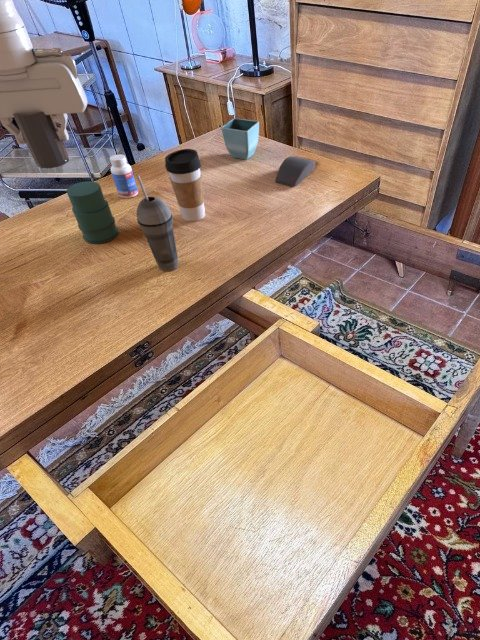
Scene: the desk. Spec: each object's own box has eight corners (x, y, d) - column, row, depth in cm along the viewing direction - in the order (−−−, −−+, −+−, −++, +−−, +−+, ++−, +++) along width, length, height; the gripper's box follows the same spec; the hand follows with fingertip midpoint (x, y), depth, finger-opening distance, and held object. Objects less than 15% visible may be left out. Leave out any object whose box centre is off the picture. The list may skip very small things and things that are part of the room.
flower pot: (262, 152, 140) (259, 120, 133) (250, 163, 135) (247, 131, 128) (237, 149, 143) (233, 117, 136) (224, 159, 137) (220, 127, 130)
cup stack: (81, 245, 107) (60, 199, 98) (86, 227, 112) (67, 181, 103) (117, 242, 108) (100, 195, 99) (120, 224, 113) (104, 178, 104)
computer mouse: (318, 169, 132) (319, 154, 129) (296, 188, 124) (296, 173, 121) (295, 164, 134) (294, 150, 131) (272, 182, 127) (271, 167, 124)
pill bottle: (134, 199, 122) (122, 162, 114) (115, 198, 122) (103, 161, 115) (141, 190, 125) (130, 153, 118) (123, 189, 126) (111, 152, 118)
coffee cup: (215, 217, 114) (205, 156, 103) (185, 227, 112) (171, 165, 100) (201, 204, 119) (189, 144, 107) (172, 214, 116) (157, 153, 104)
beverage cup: (174, 277, 98) (148, 186, 82) (146, 271, 100) (116, 181, 84) (190, 260, 102) (169, 170, 87) (163, 254, 104) (137, 165, 88)
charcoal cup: (33, 169, 84) (8, 116, 78) (40, 156, 88) (17, 104, 81) (66, 167, 85) (44, 114, 78) (71, 154, 89) (51, 102, 82)
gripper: (72, 42, 76) (102, 130, 87) (-52, 49, 74) (-7, 139, 85) (66, 51, 72) (97, 143, 83) (-66, 60, 70) (-17, 152, 81)
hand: (44, 141), depth 84 cm, fingers closed on charcoal cup, 6 cm apart
